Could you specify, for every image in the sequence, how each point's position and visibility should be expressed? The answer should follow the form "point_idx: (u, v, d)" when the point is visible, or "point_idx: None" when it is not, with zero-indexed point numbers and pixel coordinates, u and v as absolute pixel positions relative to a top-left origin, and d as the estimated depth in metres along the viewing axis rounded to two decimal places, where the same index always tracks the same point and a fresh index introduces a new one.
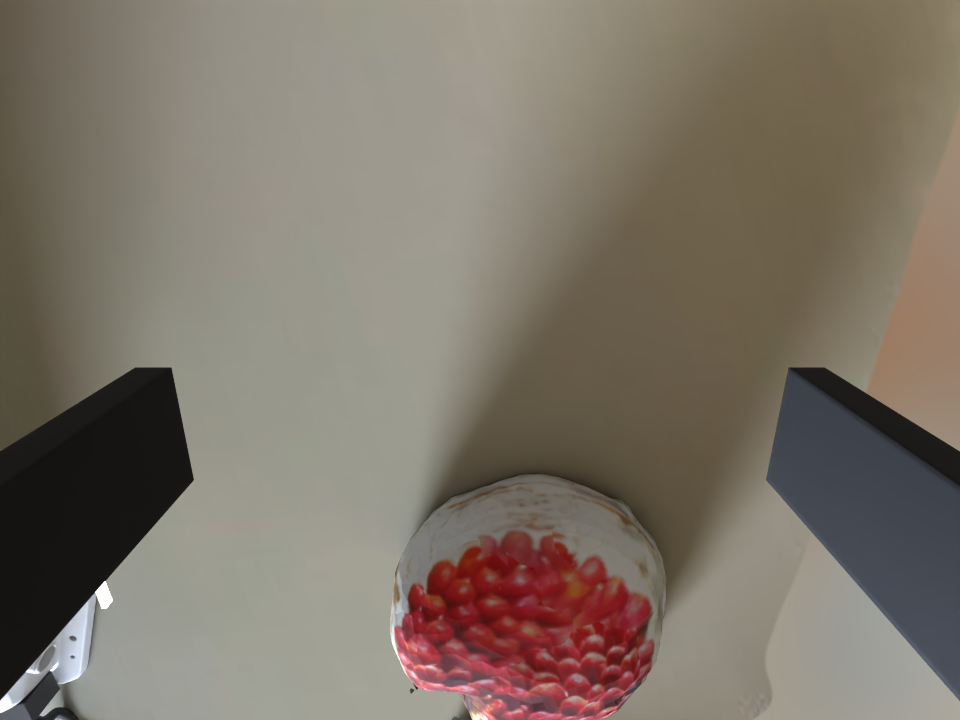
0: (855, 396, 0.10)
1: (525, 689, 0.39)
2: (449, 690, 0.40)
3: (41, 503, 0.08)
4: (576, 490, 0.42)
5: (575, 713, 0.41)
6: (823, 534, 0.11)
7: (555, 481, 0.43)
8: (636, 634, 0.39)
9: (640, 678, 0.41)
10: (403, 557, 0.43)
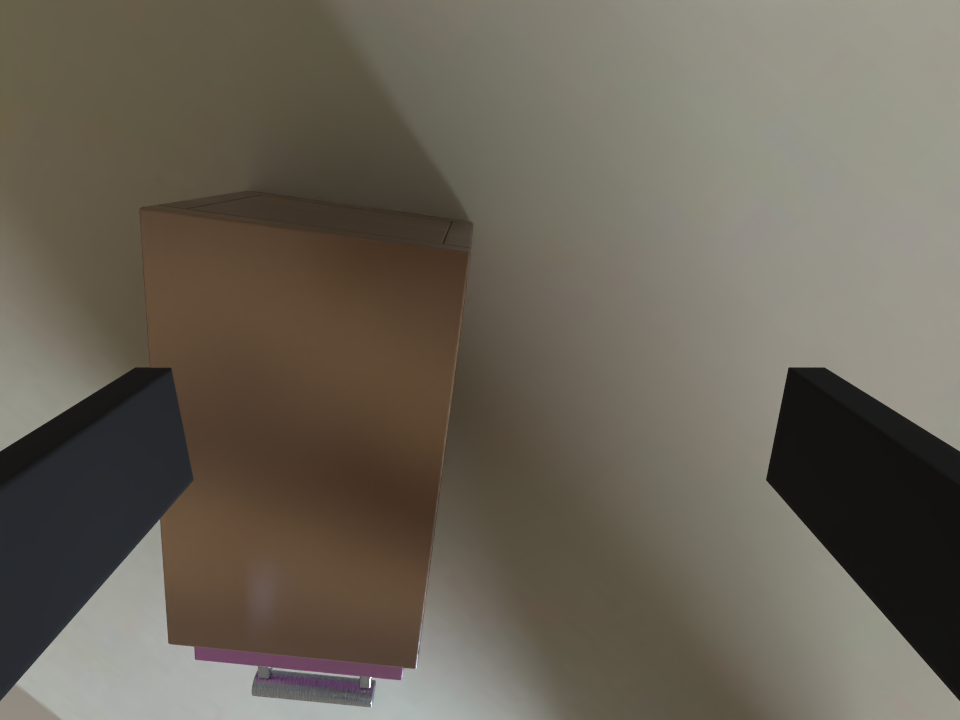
0: (854, 396, 0.10)
1: None
2: None
3: (41, 503, 0.08)
4: None
5: None
6: (823, 534, 0.11)
7: None
8: None
9: None
10: None
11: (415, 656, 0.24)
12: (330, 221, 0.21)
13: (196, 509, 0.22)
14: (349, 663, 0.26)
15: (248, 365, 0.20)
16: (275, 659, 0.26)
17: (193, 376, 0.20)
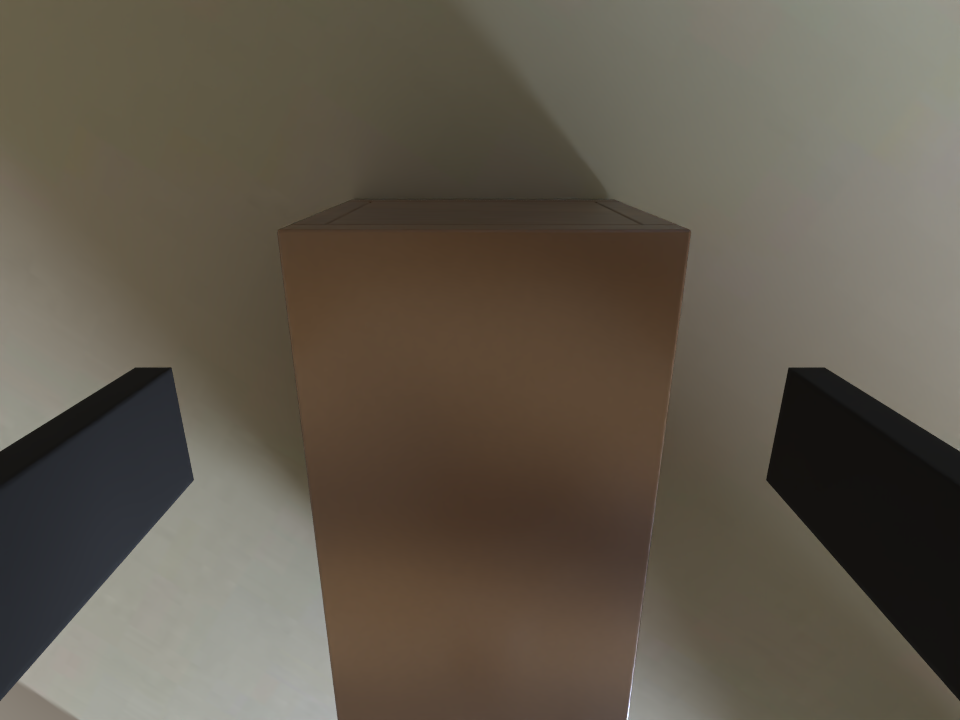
0: (854, 396, 0.10)
1: None
2: None
3: (41, 503, 0.08)
4: None
5: None
6: (823, 534, 0.11)
7: None
8: None
9: None
10: None
11: (624, 718, 0.21)
12: (487, 217, 0.17)
13: (363, 579, 0.18)
14: None
15: (418, 405, 0.16)
16: None
17: (353, 426, 0.17)
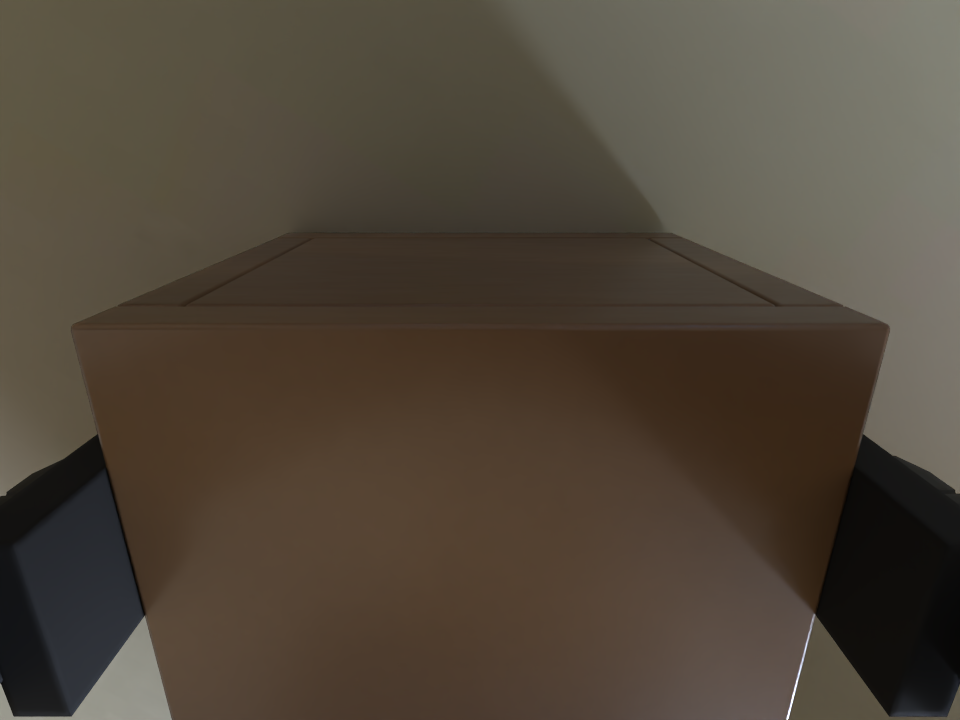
0: None
1: None
2: None
3: None
4: None
5: None
6: None
7: None
8: None
9: None
10: None
11: None
12: (486, 280, 0.10)
13: None
14: None
15: (362, 624, 0.09)
16: None
17: (247, 656, 0.09)
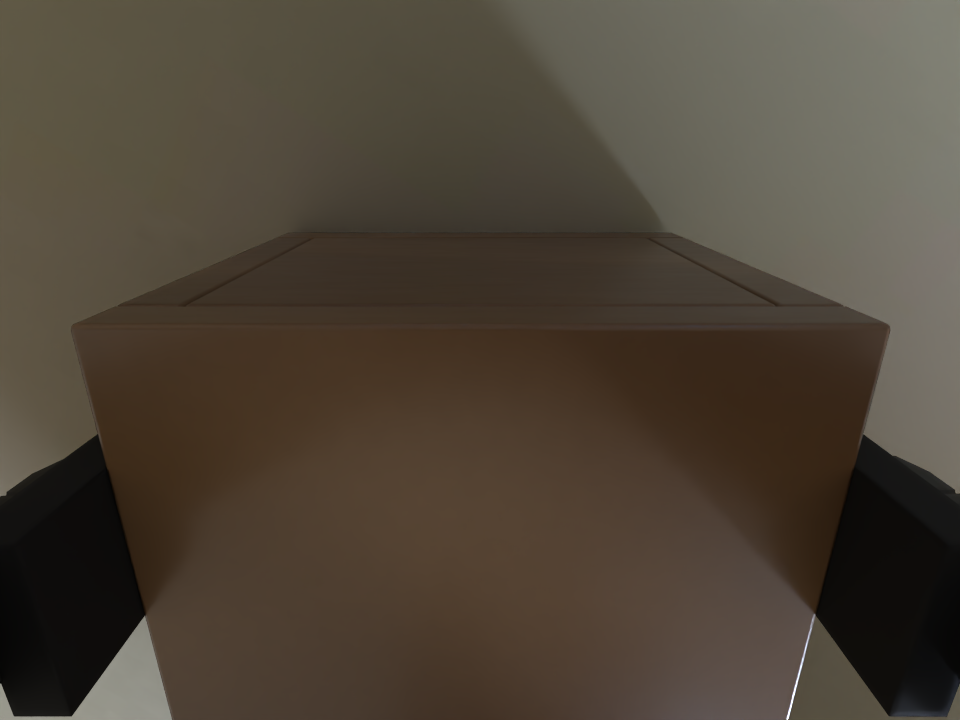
0: None
1: None
2: None
3: None
4: None
5: None
6: None
7: None
8: None
9: None
10: None
11: None
12: (486, 280, 0.10)
13: None
14: None
15: (362, 624, 0.09)
16: None
17: (247, 656, 0.09)
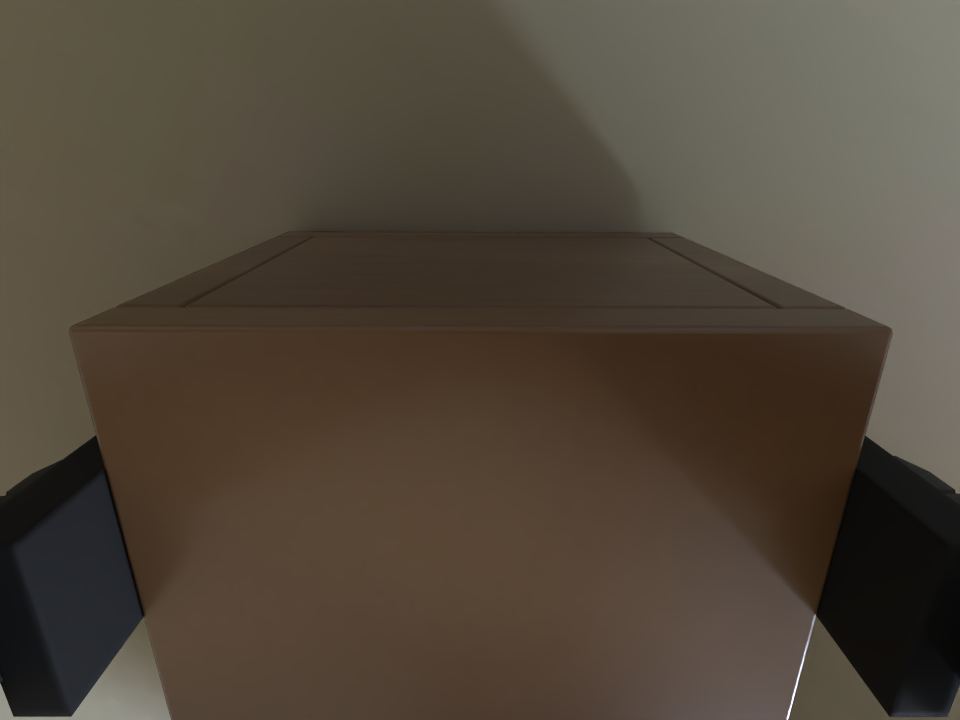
0: None
1: None
2: None
3: None
4: None
5: None
6: None
7: None
8: None
9: None
10: None
11: None
12: (487, 281, 0.10)
13: None
14: None
15: (362, 626, 0.09)
16: None
17: (246, 658, 0.09)
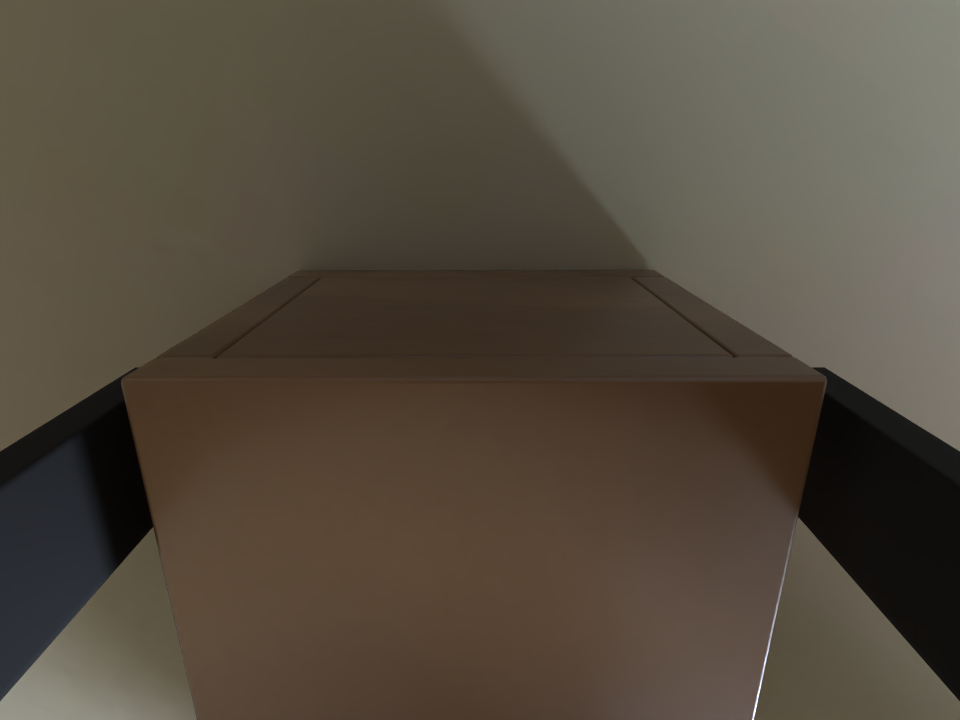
0: (854, 396, 0.10)
1: None
2: None
3: (41, 503, 0.08)
4: None
5: None
6: (823, 534, 0.11)
7: None
8: None
9: None
10: None
11: None
12: (481, 328, 0.11)
13: None
14: None
15: (370, 637, 0.10)
16: None
17: (267, 666, 0.10)
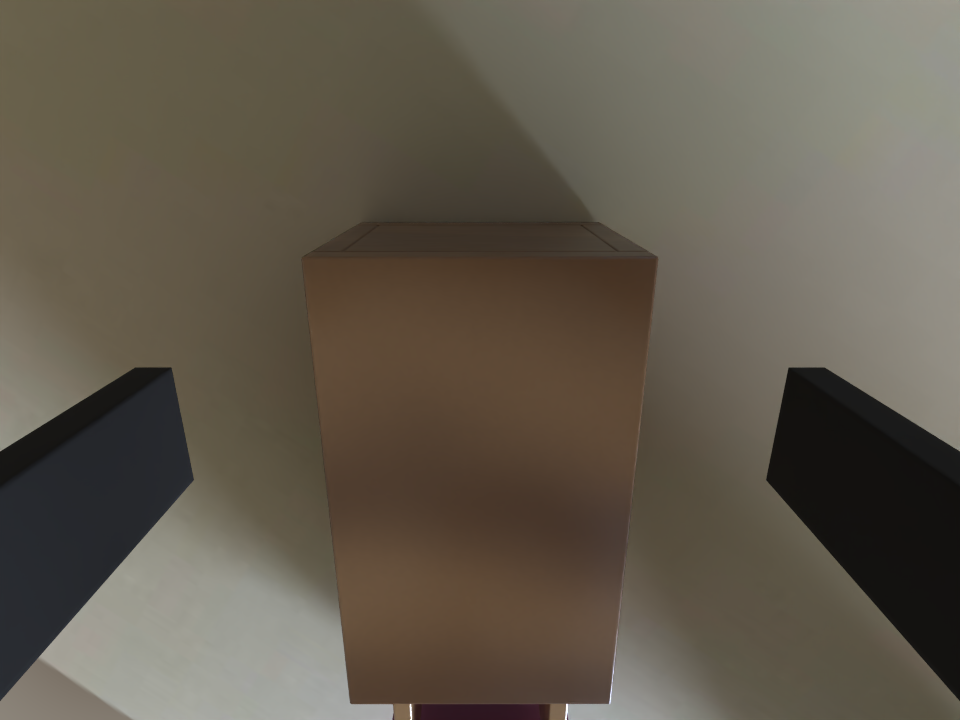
0: (855, 397, 0.10)
1: None
2: None
3: (41, 503, 0.08)
4: None
5: None
6: (823, 534, 0.11)
7: None
8: None
9: None
10: None
11: (609, 691, 0.23)
12: (483, 243, 0.19)
13: (373, 564, 0.21)
14: None
15: (422, 408, 0.19)
16: None
17: (365, 427, 0.19)
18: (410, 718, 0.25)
